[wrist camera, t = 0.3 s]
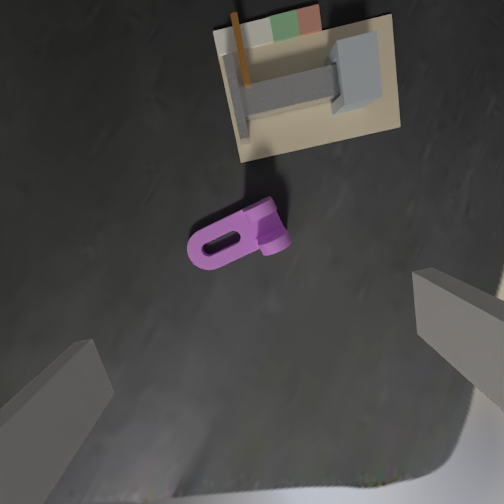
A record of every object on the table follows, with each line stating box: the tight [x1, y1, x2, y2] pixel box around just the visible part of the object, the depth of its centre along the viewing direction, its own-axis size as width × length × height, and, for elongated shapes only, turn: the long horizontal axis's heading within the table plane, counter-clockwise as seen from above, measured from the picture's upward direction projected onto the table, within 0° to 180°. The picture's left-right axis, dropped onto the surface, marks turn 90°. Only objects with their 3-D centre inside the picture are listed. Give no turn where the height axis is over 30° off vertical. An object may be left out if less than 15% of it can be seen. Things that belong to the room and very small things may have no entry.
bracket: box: [187, 196, 292, 270], centre depth 34 cm, size 13×6×7 cm, turn 115°
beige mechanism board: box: [213, 4, 401, 163], centre depth 30 cm, size 14×20×5 cm
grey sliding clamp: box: [223, 12, 341, 145], centre depth 30 cm, size 12×14×5 cm
